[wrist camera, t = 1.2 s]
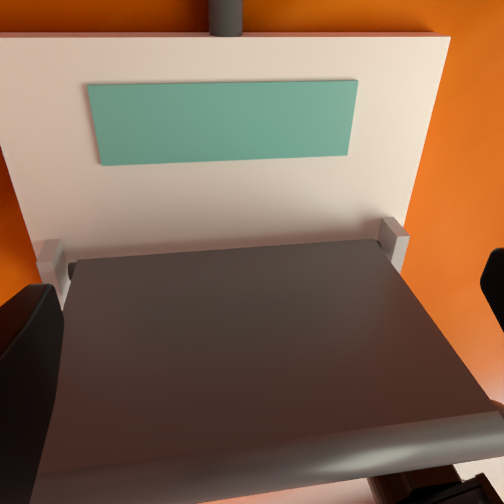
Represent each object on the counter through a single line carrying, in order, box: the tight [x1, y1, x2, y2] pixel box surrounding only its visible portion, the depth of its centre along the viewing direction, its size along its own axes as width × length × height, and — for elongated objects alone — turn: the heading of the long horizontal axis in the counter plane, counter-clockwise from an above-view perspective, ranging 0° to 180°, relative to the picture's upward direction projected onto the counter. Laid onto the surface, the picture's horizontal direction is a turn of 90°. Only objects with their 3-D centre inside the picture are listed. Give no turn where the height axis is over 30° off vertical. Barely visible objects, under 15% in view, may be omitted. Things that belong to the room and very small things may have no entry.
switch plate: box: [0, 0, 451, 310], centre depth 18 cm, size 27×17×3 cm, turn 179°
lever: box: [30, 238, 504, 504], centre depth 16 cm, size 2×15×11 cm, turn 89°
